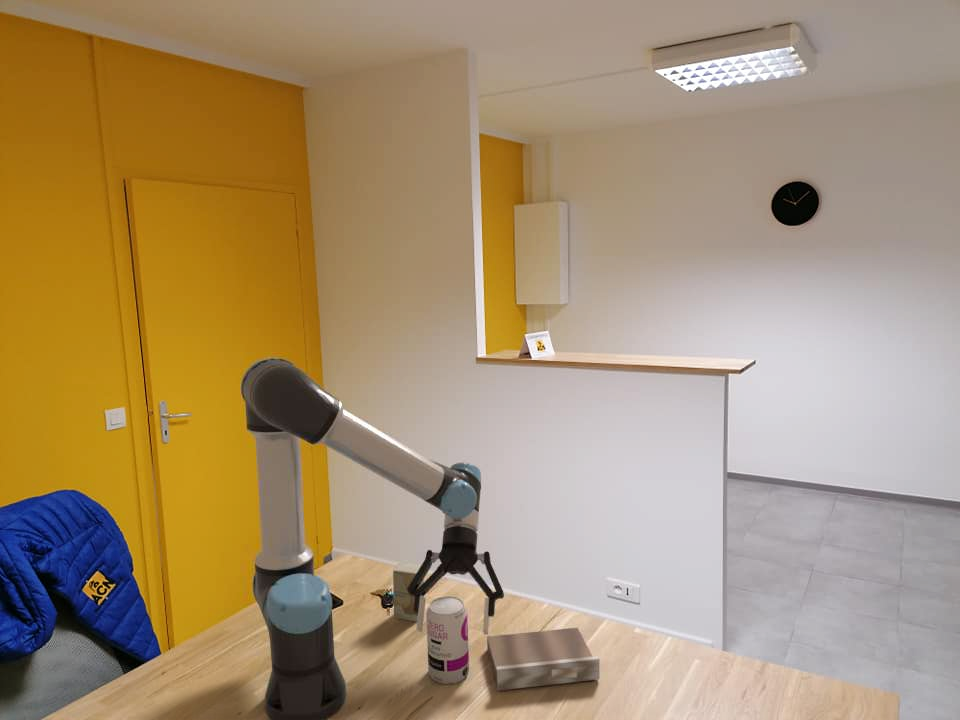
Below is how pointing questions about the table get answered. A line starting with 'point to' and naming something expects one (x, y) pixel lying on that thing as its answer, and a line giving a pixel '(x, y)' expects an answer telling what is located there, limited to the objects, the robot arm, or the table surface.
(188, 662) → the table surface
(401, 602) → the skincare box
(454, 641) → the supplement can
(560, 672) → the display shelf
